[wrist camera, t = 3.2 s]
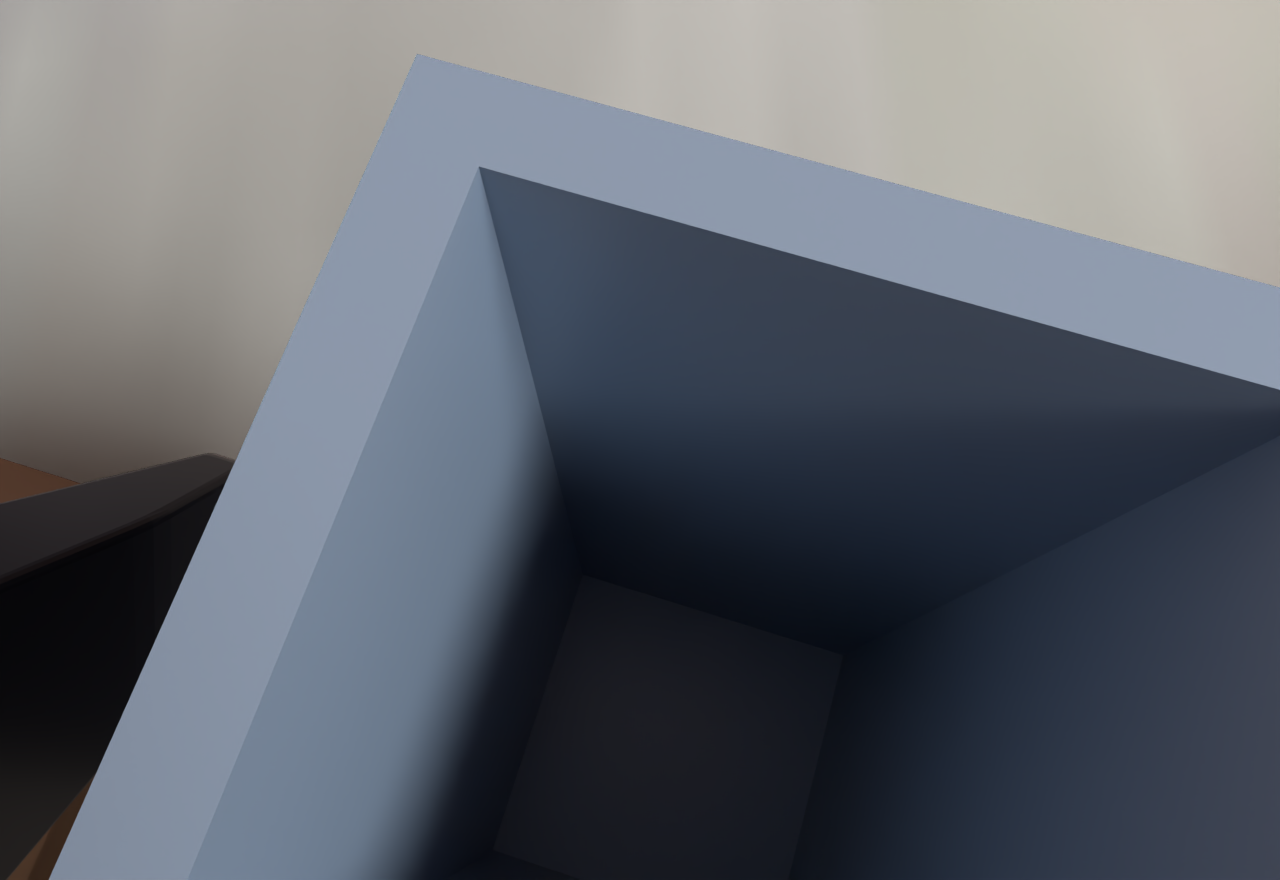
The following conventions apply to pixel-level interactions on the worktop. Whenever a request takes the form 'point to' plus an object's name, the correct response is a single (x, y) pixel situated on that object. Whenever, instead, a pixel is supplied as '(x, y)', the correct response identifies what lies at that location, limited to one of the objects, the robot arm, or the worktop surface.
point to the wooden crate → (34, 872)
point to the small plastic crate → (719, 538)
